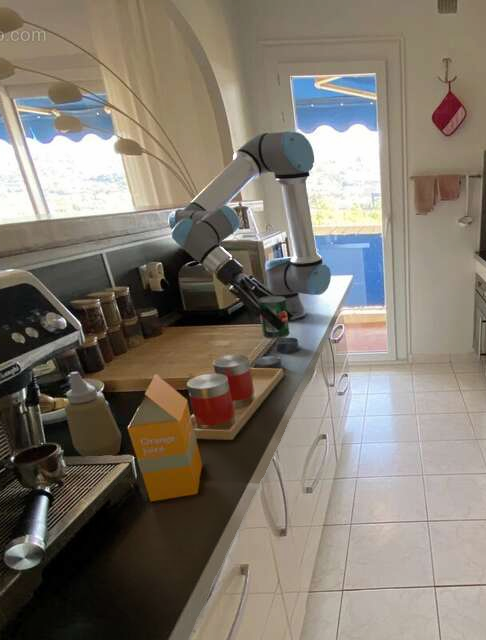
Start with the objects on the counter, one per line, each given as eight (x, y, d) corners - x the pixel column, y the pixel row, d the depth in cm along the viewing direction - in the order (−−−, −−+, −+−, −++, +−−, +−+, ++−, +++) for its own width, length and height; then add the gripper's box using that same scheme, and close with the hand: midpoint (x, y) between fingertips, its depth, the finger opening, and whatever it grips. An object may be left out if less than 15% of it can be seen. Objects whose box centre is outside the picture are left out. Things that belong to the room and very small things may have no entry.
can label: (229, 394, 114) (221, 354, 110) (260, 395, 114) (254, 355, 109) (215, 409, 107) (206, 366, 102) (248, 410, 107) (240, 367, 102)
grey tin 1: (262, 365, 134) (260, 355, 133) (284, 365, 134) (283, 356, 133) (253, 374, 128) (252, 364, 127) (277, 374, 128) (276, 365, 126)
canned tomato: (260, 333, 137) (255, 297, 132) (286, 329, 141) (281, 294, 136) (266, 340, 131) (260, 303, 126) (292, 336, 134) (288, 300, 129)
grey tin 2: (281, 345, 150) (279, 337, 149) (301, 346, 150) (300, 337, 149) (274, 352, 144) (273, 343, 143) (295, 353, 144) (294, 344, 142)
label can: (207, 416, 104) (198, 372, 99) (241, 417, 103) (233, 373, 98) (190, 434, 96) (179, 388, 92) (227, 435, 96) (217, 389, 91)
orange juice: (149, 501, 77) (116, 397, 68) (159, 473, 84) (131, 375, 76) (198, 493, 79) (172, 391, 70) (203, 466, 86) (181, 370, 78)
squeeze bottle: (69, 463, 87) (35, 379, 79) (103, 442, 94) (75, 363, 86) (103, 469, 85) (72, 383, 78) (135, 447, 93) (110, 366, 85)
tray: (243, 375, 127) (242, 367, 126) (283, 376, 126) (282, 368, 125) (179, 439, 95) (176, 429, 94) (232, 441, 95) (230, 431, 94)
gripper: (231, 270, 138) (288, 321, 144) (199, 284, 120) (266, 342, 126) (245, 252, 136) (303, 305, 142) (215, 263, 117) (282, 324, 123)
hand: (285, 322), depth 134 cm, fingers closed on canned tomato, 8 cm apart
